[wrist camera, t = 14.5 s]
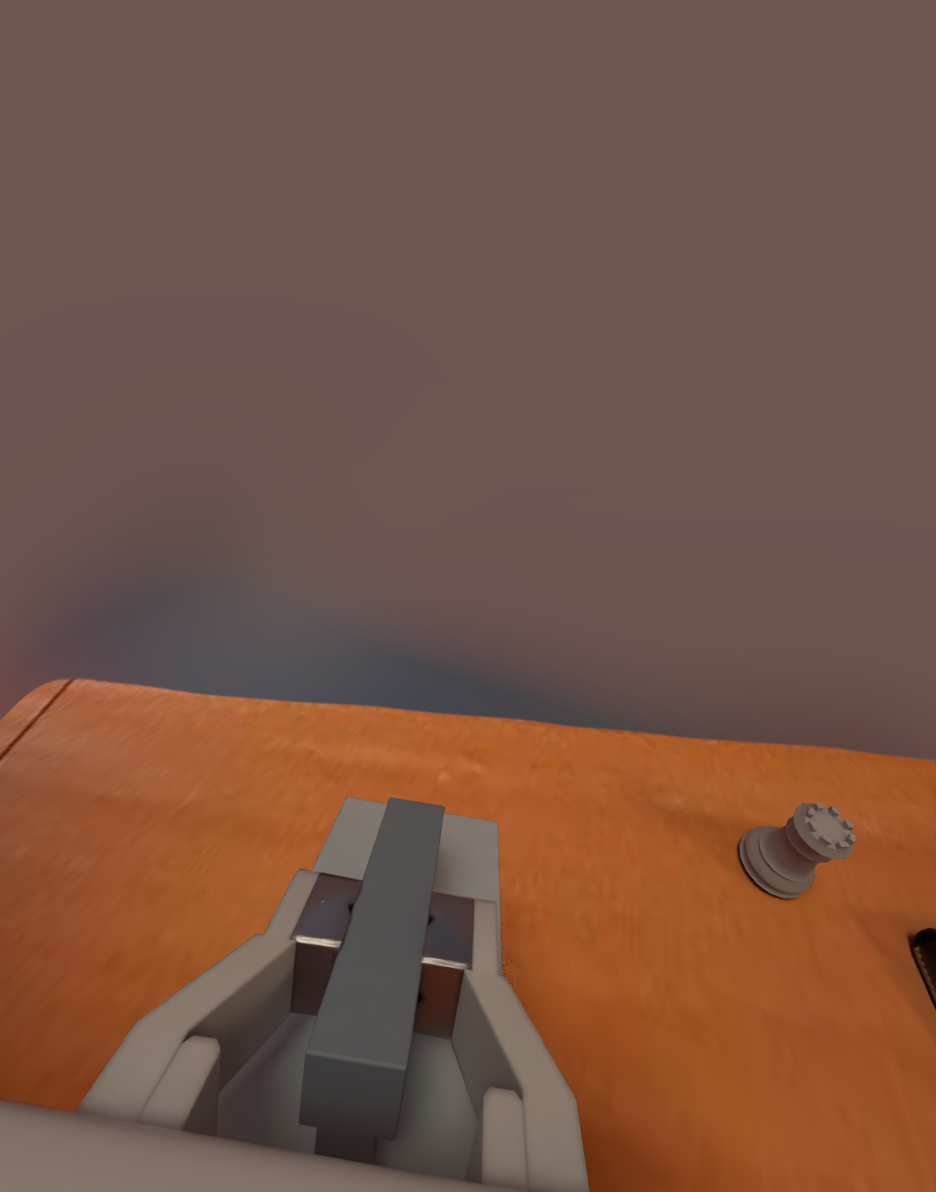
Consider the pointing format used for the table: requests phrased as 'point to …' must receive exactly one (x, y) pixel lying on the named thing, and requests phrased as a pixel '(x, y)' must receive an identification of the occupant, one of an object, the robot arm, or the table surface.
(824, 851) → the rook chess piece
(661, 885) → the table surface
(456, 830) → the grey box with ridge
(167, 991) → the table surface
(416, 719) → the table surface
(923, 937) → the sunglasses case
